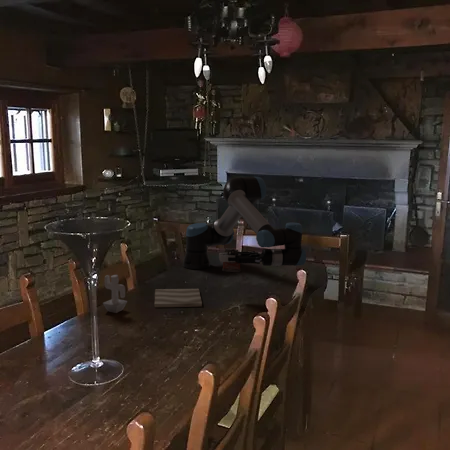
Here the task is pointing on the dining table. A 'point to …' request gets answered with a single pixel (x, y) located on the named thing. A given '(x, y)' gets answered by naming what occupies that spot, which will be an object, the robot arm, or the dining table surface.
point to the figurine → (114, 294)
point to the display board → (177, 298)
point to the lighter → (231, 265)
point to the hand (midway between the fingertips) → (219, 257)
